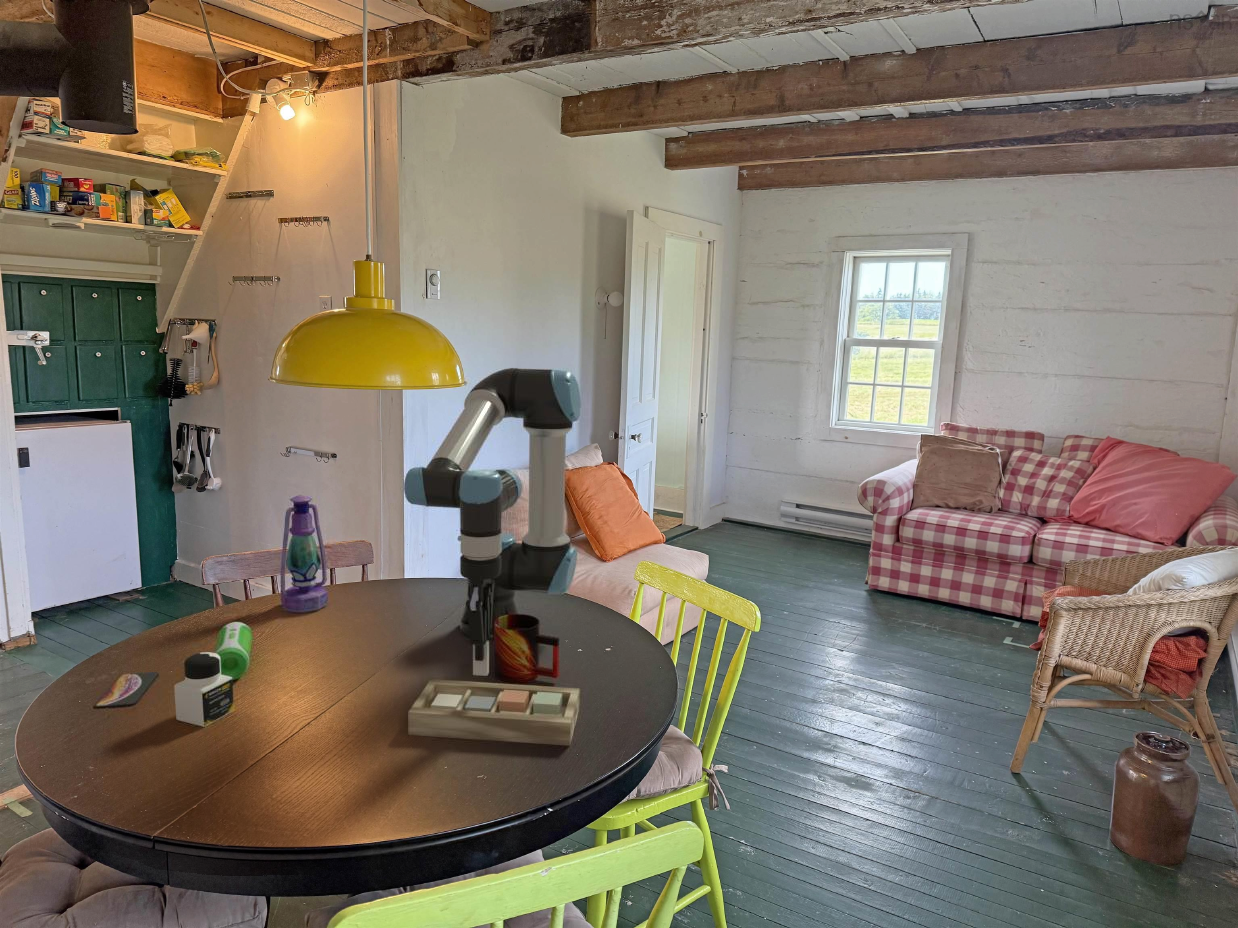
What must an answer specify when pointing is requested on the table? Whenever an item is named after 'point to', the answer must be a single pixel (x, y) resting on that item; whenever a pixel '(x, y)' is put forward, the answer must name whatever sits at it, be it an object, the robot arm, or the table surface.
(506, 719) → the wooden compartment tray
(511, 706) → the key terracotta
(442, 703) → the key ivory
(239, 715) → the table surface
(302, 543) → the lantern
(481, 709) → the key slate
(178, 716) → the medicine bottle
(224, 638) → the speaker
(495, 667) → the mug
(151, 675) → the smartphone
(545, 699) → the key sage
